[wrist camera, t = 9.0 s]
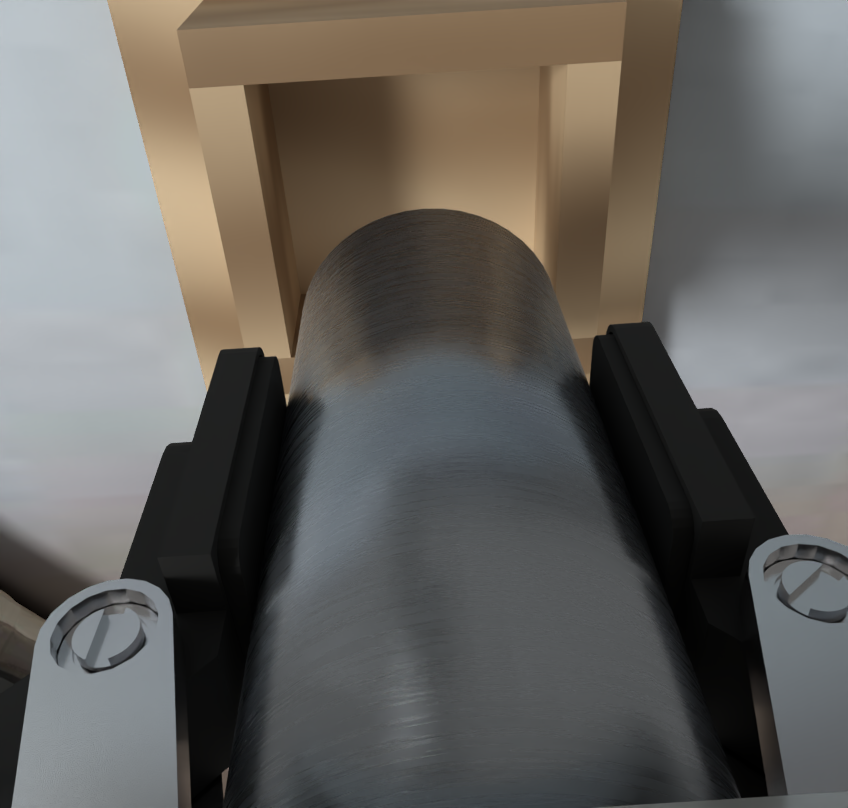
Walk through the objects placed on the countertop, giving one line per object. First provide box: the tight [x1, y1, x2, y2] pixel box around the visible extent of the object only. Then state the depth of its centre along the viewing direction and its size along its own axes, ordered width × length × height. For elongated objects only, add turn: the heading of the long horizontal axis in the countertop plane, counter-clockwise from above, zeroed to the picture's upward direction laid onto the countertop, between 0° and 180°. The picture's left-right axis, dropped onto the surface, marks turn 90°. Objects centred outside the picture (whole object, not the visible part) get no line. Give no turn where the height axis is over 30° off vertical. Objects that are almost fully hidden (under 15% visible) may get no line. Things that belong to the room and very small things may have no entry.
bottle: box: [223, 209, 741, 808], centre depth 9 cm, size 4×4×12 cm
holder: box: [107, 0, 683, 404], centre depth 21 cm, size 19×12×4 cm, turn 3°
